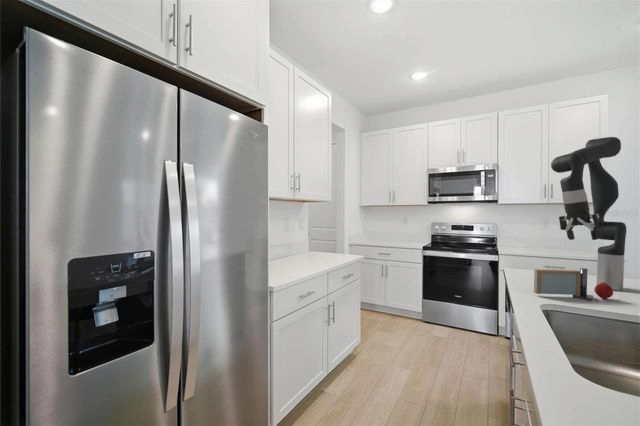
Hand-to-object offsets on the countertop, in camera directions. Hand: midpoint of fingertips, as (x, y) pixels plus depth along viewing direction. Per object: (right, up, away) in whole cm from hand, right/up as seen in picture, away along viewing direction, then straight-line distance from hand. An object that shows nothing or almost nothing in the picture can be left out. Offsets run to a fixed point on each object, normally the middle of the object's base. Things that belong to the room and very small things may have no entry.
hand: (583, 239), depth 117 cm
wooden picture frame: (-3, -25, +9) cm, 27 cm away
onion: (+15, -27, +6) cm, 31 cm away
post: (+8, -27, +8) cm, 29 cm away
